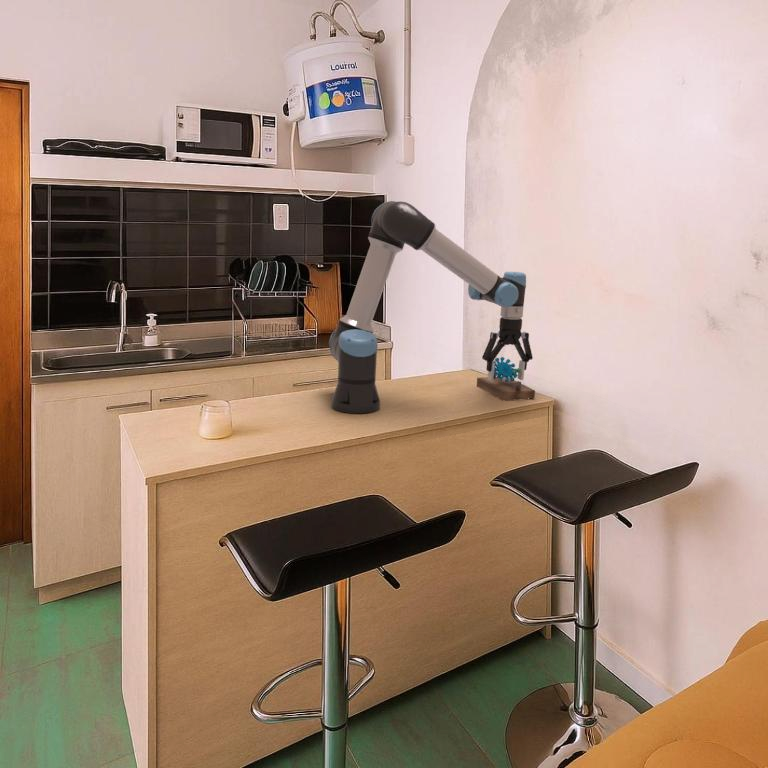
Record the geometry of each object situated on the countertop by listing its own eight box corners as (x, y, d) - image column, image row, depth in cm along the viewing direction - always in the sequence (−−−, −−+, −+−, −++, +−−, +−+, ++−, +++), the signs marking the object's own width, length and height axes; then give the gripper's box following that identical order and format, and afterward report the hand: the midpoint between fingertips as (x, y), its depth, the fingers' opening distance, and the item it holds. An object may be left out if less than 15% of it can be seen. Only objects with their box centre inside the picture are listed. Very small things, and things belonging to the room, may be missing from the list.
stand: (502, 400, 225) (504, 383, 224) (476, 385, 244) (477, 369, 242) (534, 399, 229) (536, 382, 228) (506, 384, 247) (507, 368, 246)
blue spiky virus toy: (495, 378, 229) (491, 354, 234) (487, 387, 234) (483, 363, 239) (523, 382, 233) (518, 358, 238) (515, 390, 238) (510, 366, 243)
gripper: (485, 319, 223) (479, 383, 228) (547, 319, 230) (540, 381, 235) (475, 316, 230) (470, 378, 235) (535, 315, 237) (529, 376, 242)
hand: (505, 379), depth 235 cm, fingers closed on blue spiky virus toy, 11 cm apart
